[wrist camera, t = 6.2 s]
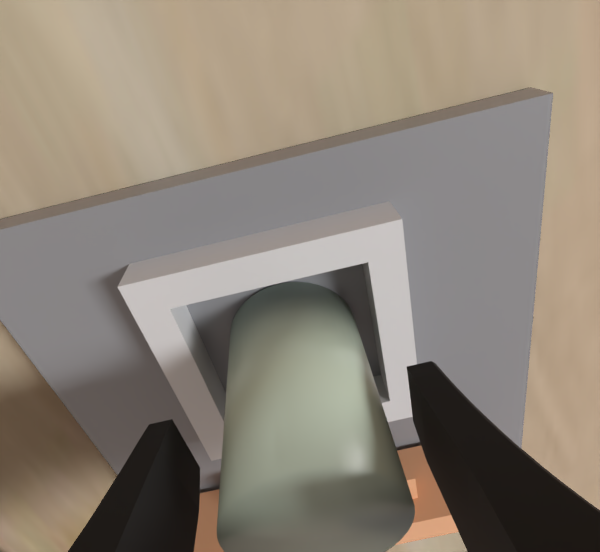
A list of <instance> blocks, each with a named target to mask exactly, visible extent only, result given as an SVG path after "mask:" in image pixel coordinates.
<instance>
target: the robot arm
mask: <svg viewBox="0 0 600 552" xmlns="http://www.w3.org/2000/svg"><path fill="white" fill-rule="evenodd" d="M407 374H408V382H409V390H410V399H411V407H412V416H413V422H414V425H415V428H416V431H417V434H418V437H419V440H420V443H421V446H422V449H423V452H424V455H425V458H426V460H427V463H428V465H429V467H430V470H431V472H432V474H433V476H434V478H435V481H436V483H437V485H438V487H439V489H440V492H441V494H442V496H443V498H444V500H445V503H446V505H447V507H448V509H449V511H450V514H451V516H452V518H453V520H454V522H455V524H456V527H457V529H458V531H459V533H460V535H461V538H462V540H463V542H464V544H465V546H466V548H467V551H468V552H600V510H599V509H597V508H596V507H594V506H593V505H592V504H590V503H589V502H587V501H586V500H585V499H583V498H582V497H581V496H579V495H578V494H577V493H576V492H574V491H573V490H572V489H570V488H569V487H568V486H566V485H565V484H564V483H562V482H561V481H560V480H559V479H557V478H556V477H555V476H554V475H552V474H551V473H550V472H549V471H547V470H546V469H545V468H544V467H542V466H541V465H540V464H539V463H538V462H536V461H535V460H534V459H533V458H532V457H530V456H529V455H528V454H527V453H526V452H525V451H523V450H522V449H521V448H520V447H519V446H518V445H516V444H515V443H514V442H513V441H512V440H511V439H510V438H509V437H507V436H506V435H505V434H504V433H503V432H502V431H501V430H500V429H499V428H498V427H497V426H496V425H494V424H493V423H492V422H491V421H490V420H489V419H488V418H487V417H486V416H485V415H484V414H483V413H482V412H481V411H480V410H479V409H478V408H477V407H476V406H475V405H474V404H473V403H472V402H471V401H470V400H469V399H468V398H467V397H466V396H465V395H464V394H463V393H462V392H461V391H460V390H459V389H458V388H457V387H456V386H455V385H454V384H453V383H452V382H451V380H450V379H449V378H448V377H447V376H446V375H445V374H444V373H443V371H442V370H441V369H440V368H439V367H438V366H437V364H436V363H434V362H432V361H429V362H425V363H420V364H416V365H411V366H407ZM199 502H200V467H199V465H198V463H197V462H196V460H195V458H194V456H193V455H192V453H191V451H190V449H189V448H188V446H187V444H186V442H185V441H184V439H183V437H182V435H181V434H180V432H179V430H178V428H177V427H176V425H175V423H174V421H173V420H172V419H171V420H166V421H162V422H157V423H153V424H149V425H148V427H147V428H146V430H145V431H144V433H143V435H142V436H141V438H140V439H139V441H138V443H137V444H136V446H135V448H134V449H133V451H132V453H131V454H130V456H129V458H128V459H127V461H126V463H125V464H124V466H123V467H122V469H121V471H120V472H119V474H118V476H117V477H116V479H115V481H114V482H113V484H112V485H111V487H110V489H109V490H108V492H107V493H106V495H105V496H104V498H103V500H102V501H101V503H100V504H99V506H98V508H97V509H96V511H95V512H94V514H93V515H92V517H91V518H90V520H89V521H88V523H87V524H86V526H85V527H84V529H83V530H82V532H81V533H80V535H79V536H78V538H77V539H76V541H75V542H74V544H73V545H72V546H71V548H70V549H69V551H68V552H194V546H195V539H196V531H197V524H198V516H199Z"/></svg>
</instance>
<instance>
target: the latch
mask: <svg viewBox="0 0 600 552" xmlns="http://www.w3.org/2000/svg"><path fill="white" fill-rule="evenodd" d="M397 452H398V455H399V458H400V461H401V465H402V468H403V471H404V474H405V477H406V480H407V483H408V486H409V489H410V492H411V496H412V499H413V502H414V505H415V516H414V520H413V523H412V525H411V527H410V529H409V530H408V532H407V533H406V534H405V535H404V537H403V538H402V539H401V540H400V541H399V542H398V543H396V544H395V545H397V544H402V543H407V542H412V541H416V540H421V539H426V538H431V537H436V536H441V535H445V534H450V533H455V532H459V531H458V529H457V527H456V524H455V522H454V520H453V518H452V516H451V514H450V511H449V509H448V507H447V505H446V503H445V500H444V498H443V496H442V494H441V492H440V489H439V487H438V485H437V483H436V481H435V478H434V476H433V474H432V472H431V470H430V467H429V465H428V463H427V460H426V458H425V455H424V452H423V449H422V446H416V447H412V448H407V449H402V450H398V451H397ZM218 503H219V489H217V490H213V491H208V492H204V493H200V502H199V516H198V524H197V531H196V539H195V546H194V552H224V551H223V549H222V548H221V546H220V544H219V542H218V539H217V518H218Z"/></svg>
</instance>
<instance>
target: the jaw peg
mask: <svg viewBox="0 0 600 552" xmlns="http://www.w3.org/2000/svg"><path fill="white" fill-rule="evenodd" d="M414 516H415V505H414V502H413V499H412V496H411V492H410V489H409V486H408V483H407V480H406V477H405V474H404V471H403V468H402V465H401V461H400V458H399V455H398V452H397V449H396V446H395V443H394V440H393V437H392V433H391V430H390V427H389V424H388V421H387V418H386V415H385V412H384V409H383V406H382V402H381V399H380V396H379V393H378V390H377V387H376V384H375V381H374V378H373V375H372V371H371V368H370V365H369V362H368V359H367V356H366V353H365V350H364V347H363V344H362V340H361V337H360V334H359V331H358V328H357V325H356V322H355V319H354V316H353V313H352V311H351V309H350V307H349V305H348V304H347V303H346V302H345V300H344V299H342V298H341V297H340V296H339V295H338V294H336V293H335V292H333V291H332V290H330V289H328V288H326V287H323V286H320V285H317V284H312V283H306V282H289V283H282V284H277V285H274V286H271V287H268V288H266V289H263V290H261V291H259V292H258V293H256V294H254V295H253V296H251V297H250V298H249V299H248V300H247V301H245V303H244V304H243V305H242V306H241V307H240V308H239V310H238V311H237V313H236V315H235V317H234V319H233V322H232V325H231V331H230V345H229V359H228V374H227V388H226V403H225V417H224V431H223V446H222V460H221V475H220V489H219V503H218V518H217V539H218V542H219V544H220V546H221V548H222V549H223V551H224V552H385V551H387V550H389V549H390V548H391V547H393V546H394V545H395V544H396V543H398V542H399V541H400V540H401V539H402V538H403V537H404V535H405V534H406V533H407V532H408V530H409V529H410V527H411V525H412V523H413V520H414Z"/></svg>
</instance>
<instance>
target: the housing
mask: <svg viewBox="0 0 600 552" xmlns="http://www.w3.org/2000/svg"><path fill="white" fill-rule="evenodd" d="M552 100H553V93H551V92H547V91H543V90H539V89H535V88H527V89H522V90H518V91H514V92H510V93H506V94H502V95H498V96H494V97H490V98H486V99H482V100H478V101H474V102H470V103H466V104H462V105H458V106H454V107H450V108H446V109H442V110H438V111H434V112H430V113H426V114H422V115H418V116H414V117H410V118H406V119H402V120H398V121H394V122H389V123H385V124H381V125H377V126H373V127H369V128H365V129H361V130H357V131H353V132H349V133H345V134H341V135H337V136H333V137H329V138H325V139H321V140H317V141H313V142H309V143H305V144H301V145H297V146H293V147H289V148H285V149H281V150H277V151H273V152H269V153H265V154H261V155H257V156H252V157H248V158H244V159H240V160H236V161H232V162H228V163H224V164H220V165H216V166H212V167H208V168H204V169H200V170H196V171H192V172H188V173H184V174H180V175H176V176H172V177H168V178H164V179H160V180H156V181H152V182H148V183H144V184H140V185H136V186H132V187H128V188H124V189H119V190H115V191H111V192H107V193H103V194H99V195H95V196H91V197H87V198H83V199H79V200H75V201H71V202H67V203H63V204H59V205H55V206H51V207H47V208H43V209H39V210H35V211H31V212H27V213H23V214H19V215H15V216H11V217H7V218H3V219H0V320H1V322H2V323H3V324H4V326H5V327H6V328H7V330H8V331H9V332H10V334H11V335H12V336H13V338H14V339H15V340H16V342H17V343H18V344H19V346H20V347H21V348H22V350H23V351H24V352H25V353H26V355H27V356H28V357H29V359H30V360H31V361H32V363H33V364H34V365H35V367H36V368H37V369H38V371H39V372H40V373H41V375H42V376H43V377H44V379H45V380H46V381H47V383H48V384H49V385H50V387H51V388H52V389H53V391H54V392H55V393H56V395H57V396H58V397H59V399H60V400H61V401H62V402H63V404H64V405H65V406H66V408H67V409H68V410H69V412H70V413H71V414H72V416H73V417H74V418H75V420H76V421H77V422H78V424H79V425H80V426H81V428H82V429H83V430H84V432H85V433H86V434H87V436H88V437H89V438H90V440H91V441H92V442H93V444H94V445H95V446H96V447H97V449H98V450H99V451H100V453H101V454H102V455H103V457H104V458H105V459H106V461H107V462H108V463H109V465H110V466H111V467H112V469H113V470H114V471H115V473H116V474H117V475H118V474H119V472H120V471H121V469H122V467H123V466H124V464H125V463H126V461H127V459H128V458H129V456H130V454H131V453H132V451H133V449H134V448H135V446H136V444H137V443H138V441H139V439H140V438H141V436H142V435H143V433H144V431H145V430H146V428H147V427H148V425H149V424H153V423H157V422H162V421H166V420H171V419H172V420H173V421H174V423H175V425H176V427H177V428H178V430H179V432H180V434H181V435H182V437H183V439H184V441H185V442H186V444H187V446H188V448H189V449H190V451H191V453H192V455H193V456H194V458H195V460H196V462H197V463H198V465H199V467H200V493H204V492H208V491H213V490H217V489H220V475H221V460H222V446H223V431H224V417H225V403H226V388H227V374H228V359H229V345H230V331H231V325H232V322H233V319H234V317H235V315H236V313H237V311H238V310H239V308H240V307H241V306H242V305H243V304H244V303H245V301H247V300H248V299H249V298H250V297H251V296H253V295H254V294H256V293H258V292H259V291H261V290H263V289H266V288H268V287H271V286H274V285H277V284H282V283H289V282H306V283H312V284H317V285H320V286H323V287H326V288H328V289H330V290H332V291H333V292H335V293H336V294H338V295H339V296H340V297H341V298H342V299H344V300H345V302H346V303H347V304H348V305H349V307H350V309H351V311H352V313H353V316H354V319H355V322H356V325H357V328H358V331H359V334H360V337H361V340H362V344H363V347H364V350H365V353H366V356H367V359H368V362H369V365H370V368H371V371H372V375H373V378H374V381H375V384H376V387H377V390H378V393H379V396H380V399H381V402H382V406H383V409H384V412H385V415H386V418H387V421H388V424H389V427H390V430H391V433H392V437H393V440H394V443H395V446H396V449H397V451H398V450H402V449H407V448H412V447H416V446H421V443H420V440H419V437H418V434H417V431H416V428H415V425H414V422H413V416H412V407H411V399H410V390H409V382H408V374H407V366H411V365H416V364H420V363H425V362H429V361H432V362H434V363H436V364H437V366H438V367H439V368H440V369H441V370H442V371H443V373H444V374H445V375H446V376H447V377H448V378H449V379H450V380H451V382H452V383H453V384H454V385H455V386H456V387H457V388H458V389H459V390H460V391H461V392H462V393H463V394H464V395H465V396H466V397H467V398H468V399H469V400H470V401H471V402H472V403H473V404H474V405H475V406H476V407H477V408H478V409H479V410H480V411H481V412H482V413H483V414H484V415H485V416H486V417H487V418H488V419H489V420H490V421H491V422H492V423H493V424H494V425H496V426H497V427H498V428H499V429H500V430H501V431H502V432H503V433H504V434H505V435H506V436H507V437H509V438H510V439H511V440H512V441H513V442H514V443H515V444H516V445H518V446H519V447H520V448H521V445H522V434H523V423H524V412H525V401H526V390H527V379H528V367H529V356H530V345H531V334H532V323H533V312H534V301H535V289H536V278H537V267H538V256H539V245H540V234H541V222H542V211H543V200H544V189H545V178H546V167H547V156H548V144H549V133H550V122H551V111H552Z"/></svg>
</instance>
